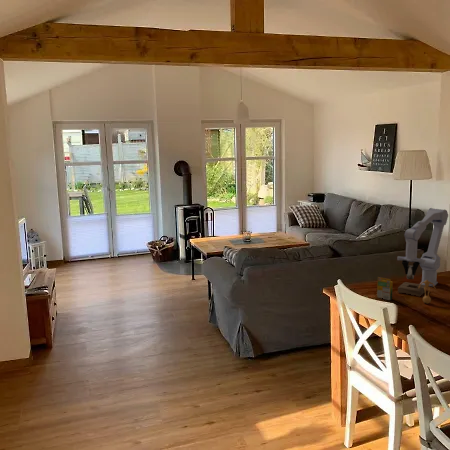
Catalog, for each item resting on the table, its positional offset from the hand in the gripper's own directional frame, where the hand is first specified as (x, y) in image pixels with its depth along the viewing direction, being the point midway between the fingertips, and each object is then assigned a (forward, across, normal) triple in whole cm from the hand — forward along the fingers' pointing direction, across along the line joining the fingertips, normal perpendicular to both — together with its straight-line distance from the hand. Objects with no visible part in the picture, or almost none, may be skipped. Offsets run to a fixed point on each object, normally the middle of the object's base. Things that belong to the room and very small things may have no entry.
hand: (410, 274), depth 262 cm
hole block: (+9, +2, -1) cm, 10 cm away
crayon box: (+10, -7, -20) cm, 23 cm away
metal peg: (+2, 0, 0) cm, 2 cm away
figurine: (+10, +13, -15) cm, 22 cm away
